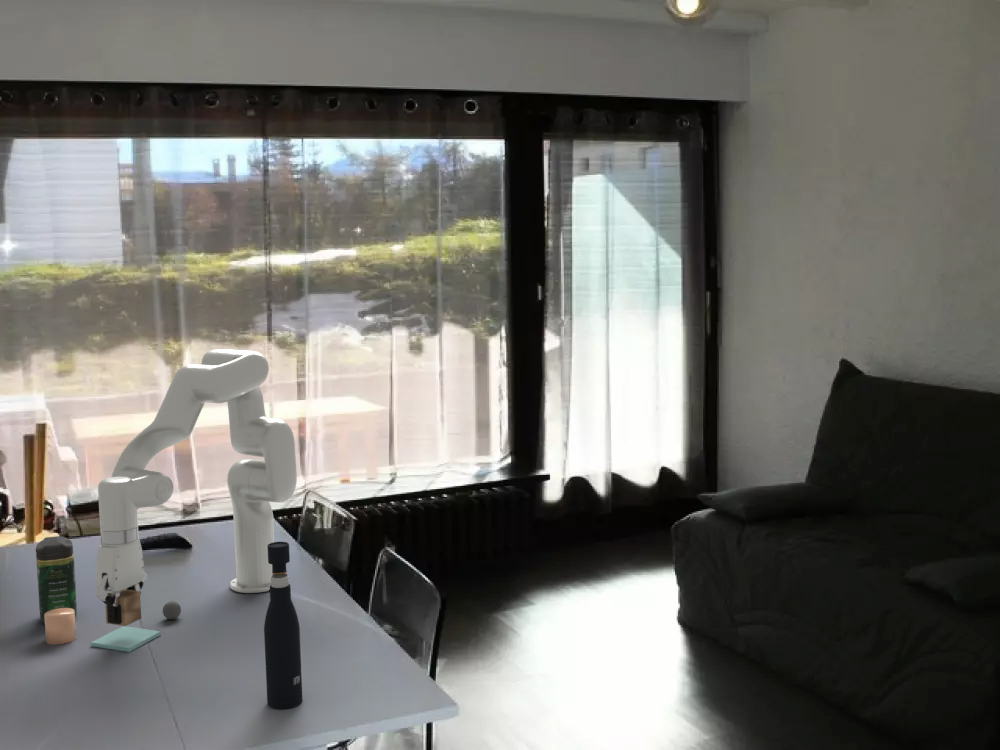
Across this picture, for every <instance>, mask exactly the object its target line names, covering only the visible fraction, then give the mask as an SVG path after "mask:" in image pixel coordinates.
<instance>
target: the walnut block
mask: <svg viewBox="0 0 1000 750" xmlns="http://www.w3.org/2000/svg"><path fill="white" fill-rule="evenodd" d="M111 597H112V598H114V594H112V593H111ZM141 601H142V600H141V595H140V591H133V590H126V589H124V590H122V591H120V597H119V604H118V605H121V621H122V622H121V623H120V624H114V623H109V622H108V617H107V605H105V604H104V605H105V606H104V607H105V621H106V624H108V625H115V626H121V627H123V626H127V627H128V626H129V625H131V624H133V623H135V622H137V621H139V620H141V619H142V604H141Z"/></svg>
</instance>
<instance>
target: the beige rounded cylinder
mask: <svg viewBox="0 0 1000 750" xmlns="http://www.w3.org/2000/svg"><path fill="white" fill-rule="evenodd" d="M44 618H45V624H44V629H45V630H44V631H45V642H46V644H48V645H52V646H53V645H54V646H55V645H57V644H59V645H64V643H65V644H68V643H72V642H73V641H74V640H76V639H77V628H76V617H75V612H74V609H72V608H58V609H53V610H50V611H48V612H46V613H45V614H44ZM57 646H58V645H57Z"/></svg>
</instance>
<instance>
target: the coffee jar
mask: <svg viewBox="0 0 1000 750" xmlns="http://www.w3.org/2000/svg"><path fill="white" fill-rule="evenodd" d="M35 559H36V572H37V588H38V607H39V618H40V619H39V620H40V622H42V624H44V625H45V618H44V614H45V613H46V612H48V611H50V610H53V609H58V608H72V609H74V612H75V618H77V615H78V608H77V606H78V605H77V588H76V587H77V585H76V568H75V567H76V566H75V555H74V546H73V541H72V540H71V539H69V538H67V537H65V536H63V535H57V536H55V535H54V536H47V537H45V538H44V539H42V540H40V541H39V542H38V543H37V544H36V547H35Z"/></svg>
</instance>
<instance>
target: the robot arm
mask: <svg viewBox="0 0 1000 750" xmlns="http://www.w3.org/2000/svg"><path fill="white" fill-rule="evenodd" d="M269 371H270V369H269V362H268V360H267V358H266V357H265V356H264V354H262V353H260V352H258V351H255V350H244V349H243V350H242V349H241V350H240V349H228V348H227V349H225V348H220V349H219V348H218V349H212V350H209V351H207V352H206V353H205V354H203V357H202V359H201V364H195V363H194V364H186V365H184V366H181V367H180V368H179V369H178V370H177V371H176V372H175V374H174V376H173V378H172V380H171V383H170V385H169V387H168V389H167V390H166V394H165V396H164V398H163V400H162V403H161V405H160V407H159V408H158V411H157V414H156V415H155V418H154V420H153V421H152V422H151V423H150V424H149V425H148V426H146V428H144V429H143V430H141V432H139V433H138V434H137V435H136V436H135V437H134V438H133V439H132V440H131V441H130V442H129V443H128V444H127V446H125V448H124V449H123V450H122V453H121V454H120V456H119V458H118V461H117V462H116V465H115V467H114V469H113V472H112V475H111V477H106V478H104V479H102V480H100V482H99V483H98V485H97V486H98V487H97V493H98V496H97V497H98V512H99V513H98V514H99V526H100V527H99V531H100V543H101V544H100V545H98V549H97V554H96V555H97V557H96V565H95V566H96V567H95V568H96V569H95V571H96V572H95V578H96V589H97V590H96V592H95V598H98V599H99V600H100V601H102V602H103V604H104V605H107V617H108V622H109V623H114V624H120V623H121V622H122V621H121V605H118V604H119V597H120V591H122V590H124V589H125V590H133V591H140V596H141V595H142V589H143V587H144V583H145V581H146V580H147V578H148V574H147V572H146V571H145V565H144V562H145V561H144V556H143V555H144V554H143V548H142V544H141V541H140V537H139V523H138V522H139V521H138V519H139V518H138V510H139V509H143V508H153V507H159V506H162V505H164V504H165V503H167V502H168V501H169V499H171V497H172V495H173V493H174V483H173V480H172V479H171V477H170V476H168V475H167V474H165V473H163V472H160V471H154V470H148V469H146V467H147V466H148V464H149V463H150V462H151V460H152V459H154V457H155V456H156V455H158V454H160V453H161V452H162V451H163V450H165V449H167V448H170V447H173V446H174V445H177V444H179V443H182V442H184V441H186V440H187V439H188V438H190V437H191V435H192V433H193V430H194V428H195V426H196V423H197V421H198V419H199V417H200V414H201V412H202V410H203V408H204V406H205V404H206V403H207V404H208V403H210V404H223V403H226V404H227V409H228V421H229V425H228V426H229V435H230V443H231V447H232V449H233V450H234V451H235V452H236V453H237V454H240V455H245V456H253V457H258V458H259V457H260V458H264V460H262V459H252V458H249V459H248V458H246V459H240V460H238V461H237V462H235V463H234V464H232V466H230V468H229V470H228V471H227V472H228V473H227V477H226V478H227V480H226V481H227V488H228V492H229V495H230V501H231V505H232V514H233V515H232V516H233V534H234V535H233V536H234V537H233V538H234V554H235V556H234V558H235V576H236V577H235V578H234V579H232V580H230V582H229V586H230V589H231V590H232V591H234V592H237V593H241V594H242V593H244V594H255V593H256V594H257V593H263V592H264V593H265V592H270V591H269V590H270V585H271V580H270V579H271V576H272V575H273V573H272V564H269V563H268V547H267V545H268V544H270V543H273V542H275V532H274V531H275V529H274V525H275V524H274V521H275V520H274V514H273V509H272V505H271V504H270V502H271V503H285V502H287V501H288V500H290V499H291V498H292V497H293V495H294V493H296V492H295V491H296V489H297V488H296V487H297V482H298V481H297V479H298V478H297V475H298V474H297V459H296V458H297V456H296V445H295V444H296V442H295V437H294V432H293V431H292V428H291V426H290V425H289V424H288V423H287V422H286V421H285V420H282V419H279V418H275V417H274V418H273V417H267V415H266V411H265V404H264V397H263V396H264V395H263V392H262V389H261V387H260V386H261V385H263V383H264V382H265V381H266V379H267V377H268V375H269ZM111 593H112V594H114V598H112V597H111ZM114 624H113V625H114Z"/></svg>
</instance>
